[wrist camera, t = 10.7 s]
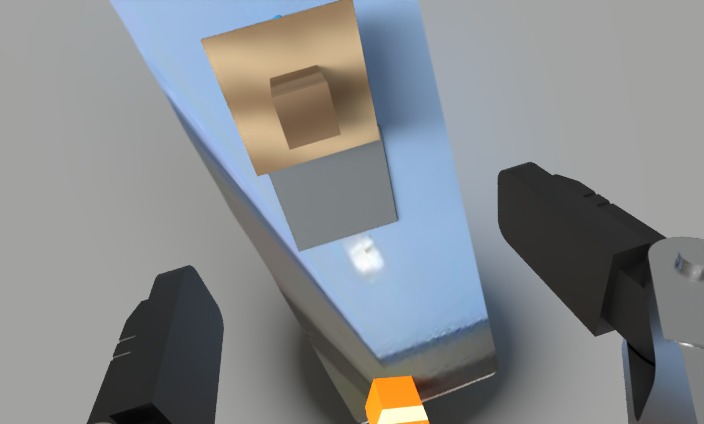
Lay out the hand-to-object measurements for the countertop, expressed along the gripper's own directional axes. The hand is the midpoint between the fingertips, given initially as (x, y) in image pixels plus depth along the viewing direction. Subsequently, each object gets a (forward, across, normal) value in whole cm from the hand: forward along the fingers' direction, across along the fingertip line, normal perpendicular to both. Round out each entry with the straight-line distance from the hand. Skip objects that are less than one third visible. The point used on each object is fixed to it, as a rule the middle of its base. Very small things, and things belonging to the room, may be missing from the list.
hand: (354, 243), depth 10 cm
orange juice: (+34, 0, +64) cm, 73 cm away
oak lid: (+26, 0, +3) cm, 26 cm away
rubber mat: (+34, -1, +18) cm, 39 cm away
